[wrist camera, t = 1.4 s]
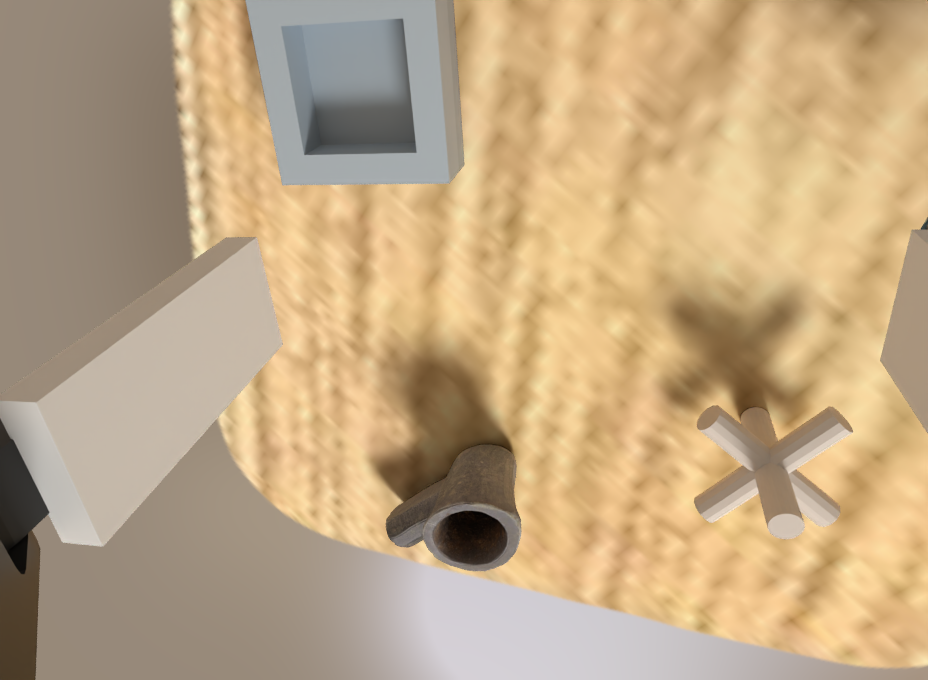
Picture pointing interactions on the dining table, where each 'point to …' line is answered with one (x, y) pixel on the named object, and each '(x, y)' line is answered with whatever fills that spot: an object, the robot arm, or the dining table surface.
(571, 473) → the dining table surface
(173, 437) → the robot arm
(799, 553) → the dining table surface
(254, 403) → the dining table surface
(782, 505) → the pipe connector
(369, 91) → the blue-grey square socket
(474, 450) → the pipe
